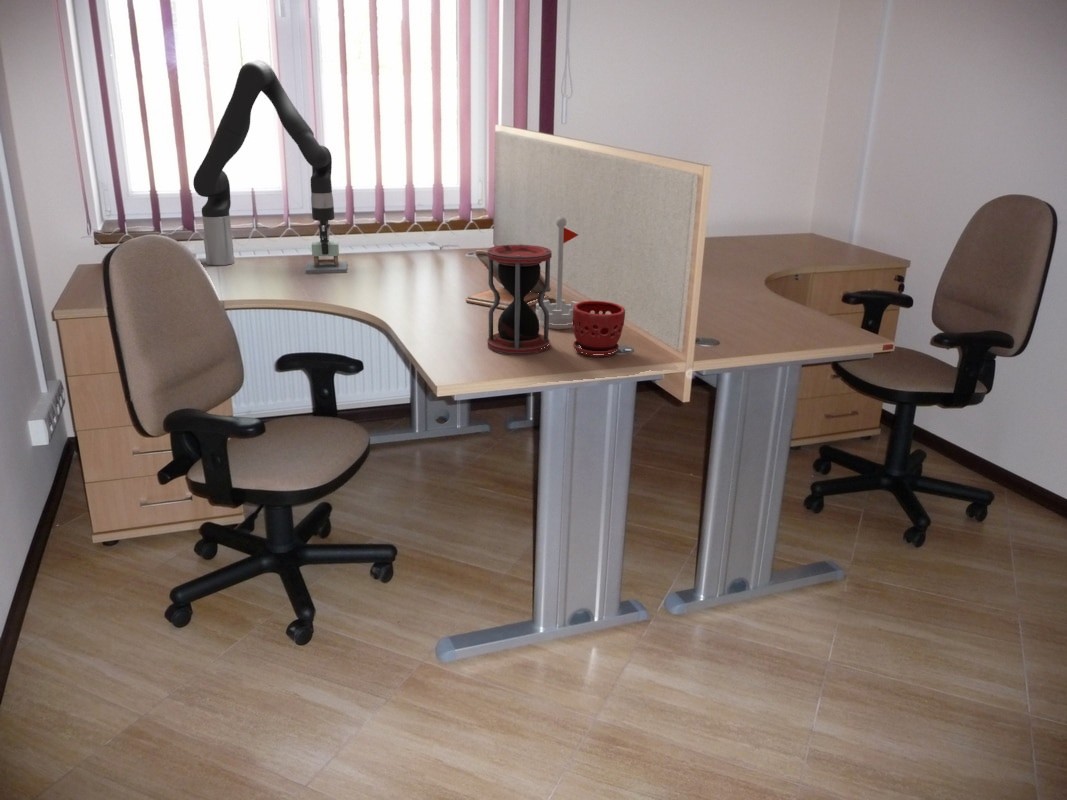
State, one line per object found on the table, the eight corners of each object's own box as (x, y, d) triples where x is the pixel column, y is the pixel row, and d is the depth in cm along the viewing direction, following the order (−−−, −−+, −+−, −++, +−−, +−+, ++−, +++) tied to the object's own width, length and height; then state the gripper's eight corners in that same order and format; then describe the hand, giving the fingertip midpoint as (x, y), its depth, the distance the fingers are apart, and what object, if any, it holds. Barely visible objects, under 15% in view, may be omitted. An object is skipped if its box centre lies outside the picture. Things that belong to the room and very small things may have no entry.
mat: (305, 273, 298) (305, 270, 298) (307, 265, 311) (307, 261, 311) (346, 272, 301) (346, 269, 301) (347, 264, 314) (347, 261, 313)
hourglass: (550, 337, 230) (552, 244, 221) (548, 356, 215) (551, 257, 206) (490, 336, 231) (489, 243, 222) (484, 354, 215) (484, 255, 207)
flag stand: (543, 331, 236) (545, 221, 226) (530, 318, 248) (531, 213, 237) (587, 328, 240) (592, 219, 229) (572, 316, 251) (576, 212, 241)
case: (553, 299, 271) (554, 248, 265) (516, 312, 254) (516, 259, 249) (501, 290, 281) (500, 241, 276) (461, 303, 265) (460, 251, 259)
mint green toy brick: (339, 267, 304) (337, 244, 301) (313, 267, 302) (311, 244, 299) (339, 263, 309) (338, 241, 306) (314, 264, 308) (312, 241, 305)
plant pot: (568, 358, 214) (570, 311, 209) (574, 343, 226) (576, 298, 222) (621, 361, 212) (623, 314, 208) (624, 346, 224) (626, 301, 220)
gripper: (333, 208, 292) (336, 255, 298) (334, 202, 305) (337, 248, 311) (310, 208, 291) (313, 256, 297) (312, 202, 304) (315, 248, 310)
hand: (325, 252), depth 304 cm, fingers open, 8 cm apart
